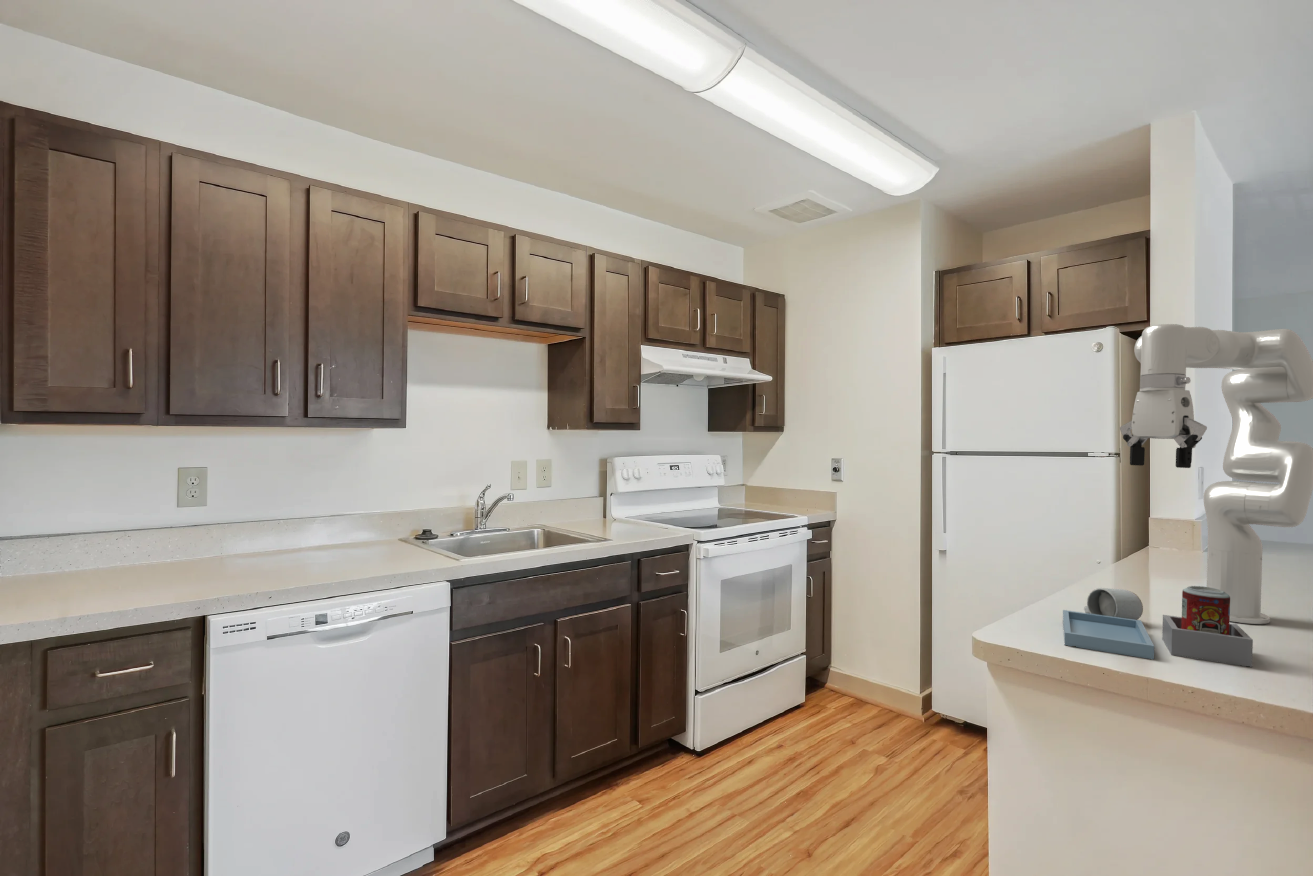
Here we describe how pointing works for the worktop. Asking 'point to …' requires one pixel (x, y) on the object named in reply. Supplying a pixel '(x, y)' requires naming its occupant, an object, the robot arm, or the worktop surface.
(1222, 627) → the soda can
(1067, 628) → the tray
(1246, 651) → the can holder
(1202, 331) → the robot arm
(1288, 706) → the worktop surface
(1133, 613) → the ceramic mug
